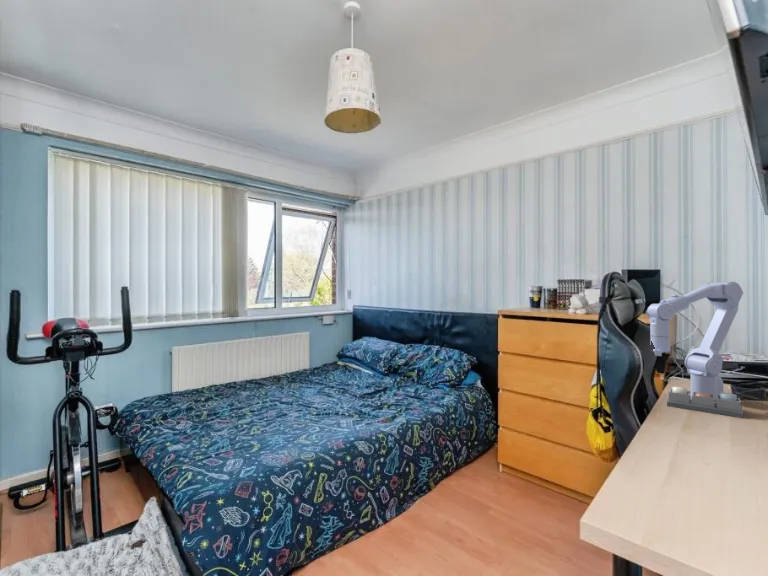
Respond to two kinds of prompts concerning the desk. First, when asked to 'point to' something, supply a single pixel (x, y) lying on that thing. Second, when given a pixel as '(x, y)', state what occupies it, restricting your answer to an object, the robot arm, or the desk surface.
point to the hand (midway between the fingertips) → (660, 373)
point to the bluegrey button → (728, 396)
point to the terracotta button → (703, 394)
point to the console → (705, 404)
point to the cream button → (679, 390)
